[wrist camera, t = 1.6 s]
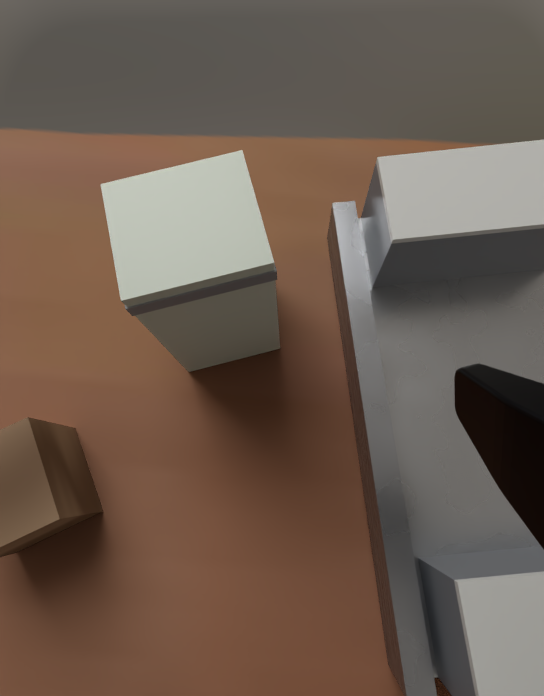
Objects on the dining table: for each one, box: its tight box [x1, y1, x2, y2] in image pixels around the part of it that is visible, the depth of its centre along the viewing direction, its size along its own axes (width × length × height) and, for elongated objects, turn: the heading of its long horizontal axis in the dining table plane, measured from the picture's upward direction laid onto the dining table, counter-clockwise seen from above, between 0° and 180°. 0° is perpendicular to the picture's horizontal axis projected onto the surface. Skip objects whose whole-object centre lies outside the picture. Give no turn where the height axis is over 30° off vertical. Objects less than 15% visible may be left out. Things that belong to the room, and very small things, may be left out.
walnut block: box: [0, 417, 103, 557], centre depth 18 cm, size 4×4×4 cm
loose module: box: [101, 150, 280, 372], centre depth 18 cm, size 4×5×9 cm
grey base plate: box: [327, 201, 544, 696], centre depth 19 cm, size 19×10×3 cm, turn 5°
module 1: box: [361, 140, 544, 287], centre depth 19 cm, size 4×8×4 cm, turn 95°
